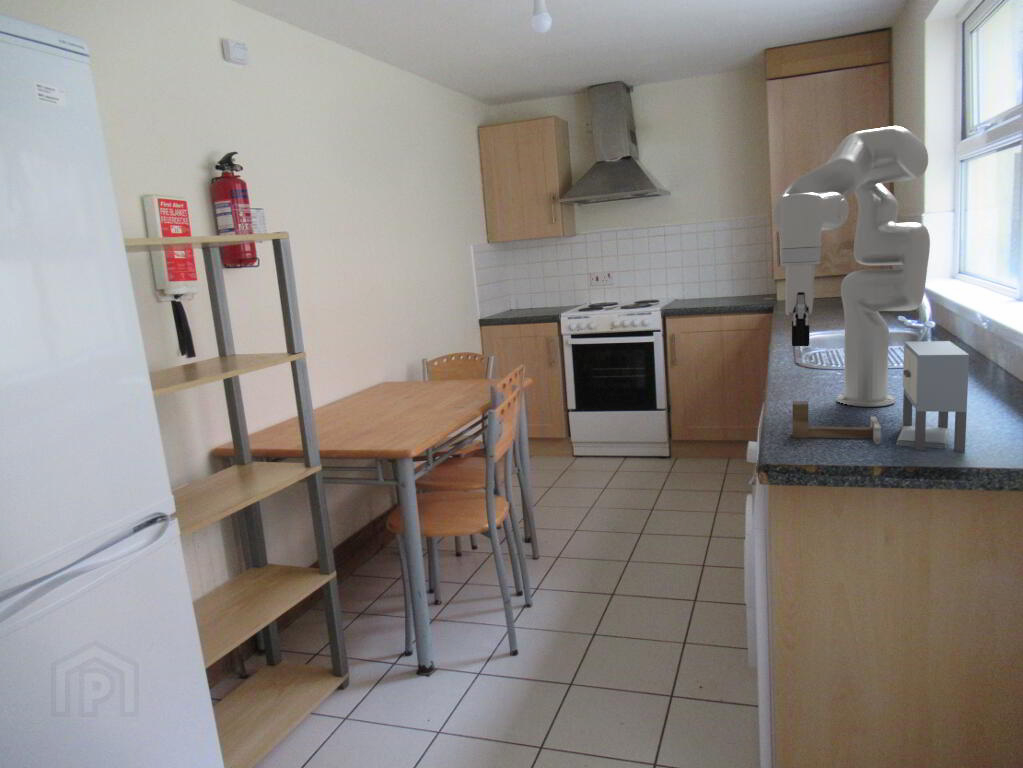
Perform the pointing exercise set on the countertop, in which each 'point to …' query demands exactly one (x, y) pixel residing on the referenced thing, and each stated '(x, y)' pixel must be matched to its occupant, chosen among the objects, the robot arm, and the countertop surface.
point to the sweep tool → (831, 432)
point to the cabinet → (935, 387)
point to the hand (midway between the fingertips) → (800, 342)
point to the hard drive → (932, 437)
